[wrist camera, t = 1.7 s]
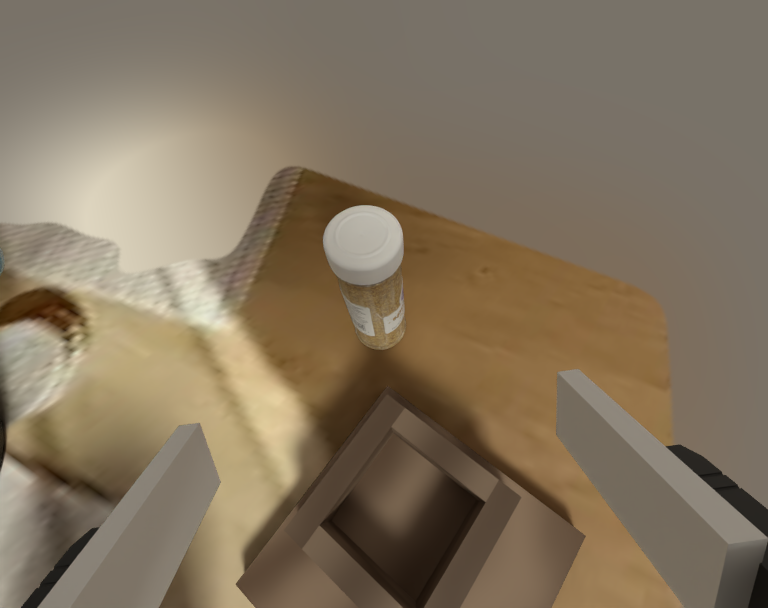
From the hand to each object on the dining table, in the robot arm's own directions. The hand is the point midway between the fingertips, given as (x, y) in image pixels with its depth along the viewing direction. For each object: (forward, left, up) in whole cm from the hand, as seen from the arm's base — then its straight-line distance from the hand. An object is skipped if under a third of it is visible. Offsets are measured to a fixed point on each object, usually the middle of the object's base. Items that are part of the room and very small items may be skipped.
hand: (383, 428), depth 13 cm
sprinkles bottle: (-8, +8, -16) cm, 19 cm away
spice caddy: (+4, -4, -16) cm, 17 cm away
